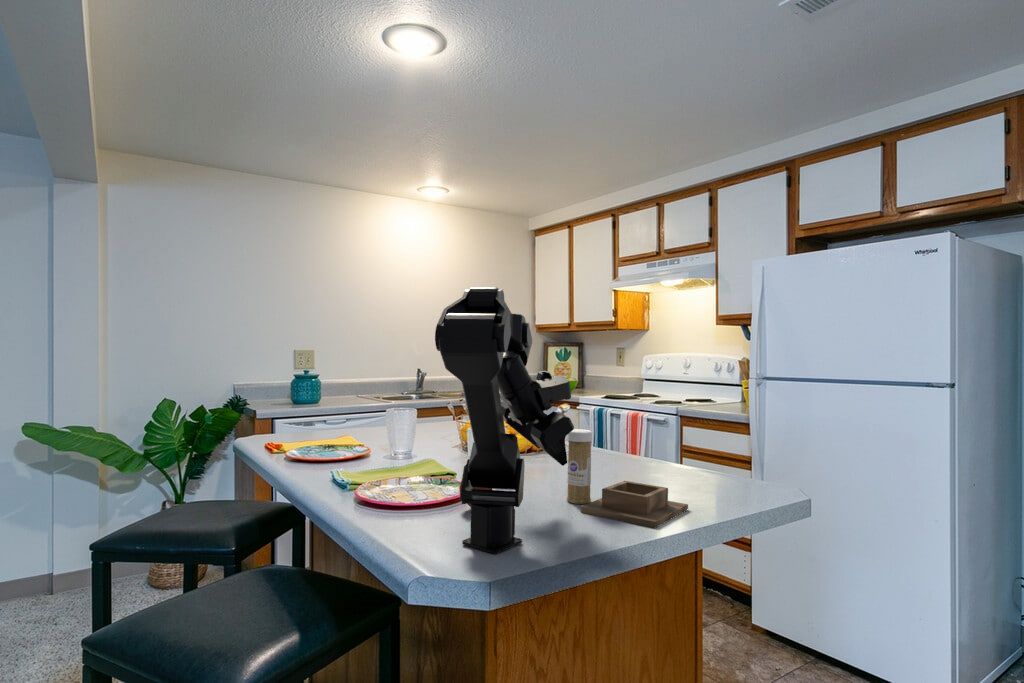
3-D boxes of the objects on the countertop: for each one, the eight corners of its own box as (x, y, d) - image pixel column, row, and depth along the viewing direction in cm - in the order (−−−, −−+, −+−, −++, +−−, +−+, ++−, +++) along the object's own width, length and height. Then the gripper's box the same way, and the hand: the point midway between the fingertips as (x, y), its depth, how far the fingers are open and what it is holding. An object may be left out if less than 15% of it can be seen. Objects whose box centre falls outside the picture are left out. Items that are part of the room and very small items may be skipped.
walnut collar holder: (655, 528, 95) (655, 503, 95) (580, 512, 103) (581, 489, 103) (688, 509, 106) (688, 487, 106) (618, 496, 114) (618, 476, 114)
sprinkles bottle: (563, 502, 109) (564, 430, 109) (571, 497, 113) (572, 427, 114) (587, 506, 107) (588, 432, 108) (594, 500, 112) (595, 429, 112)
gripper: (580, 369, 93) (616, 445, 98) (529, 349, 110) (562, 416, 115) (523, 408, 90) (564, 484, 95) (480, 381, 107) (516, 448, 112)
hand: (552, 455), depth 105 cm, fingers open, 9 cm apart
